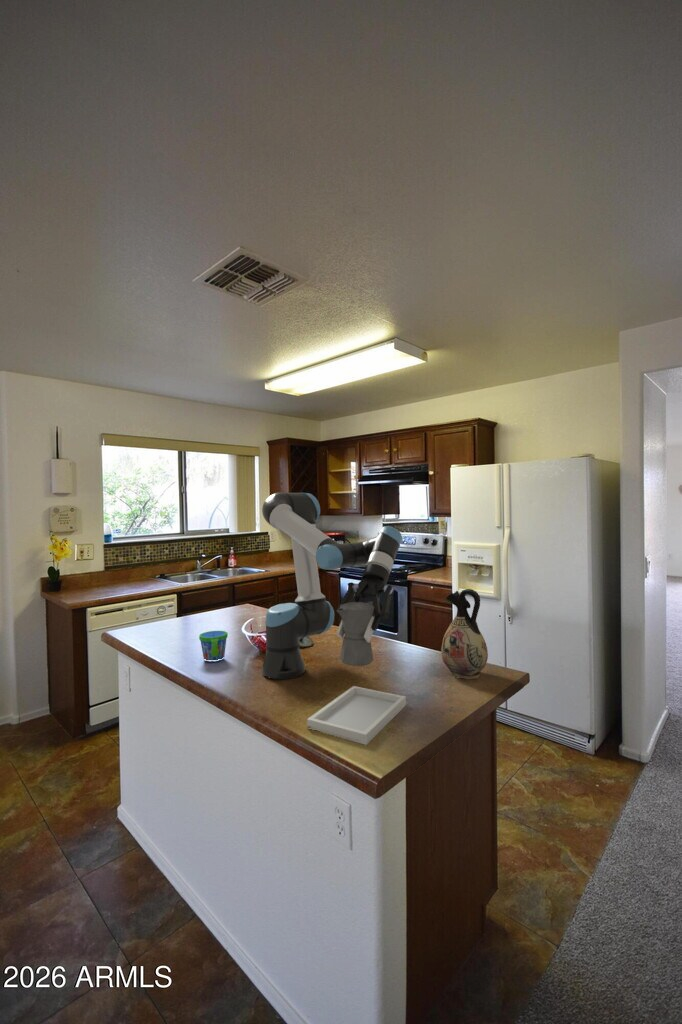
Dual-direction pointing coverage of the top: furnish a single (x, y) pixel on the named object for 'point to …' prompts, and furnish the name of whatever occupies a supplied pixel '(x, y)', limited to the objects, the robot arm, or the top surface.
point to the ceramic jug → (464, 639)
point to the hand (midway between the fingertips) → (352, 637)
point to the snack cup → (213, 644)
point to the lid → (305, 642)
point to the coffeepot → (356, 632)
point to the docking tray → (357, 714)
